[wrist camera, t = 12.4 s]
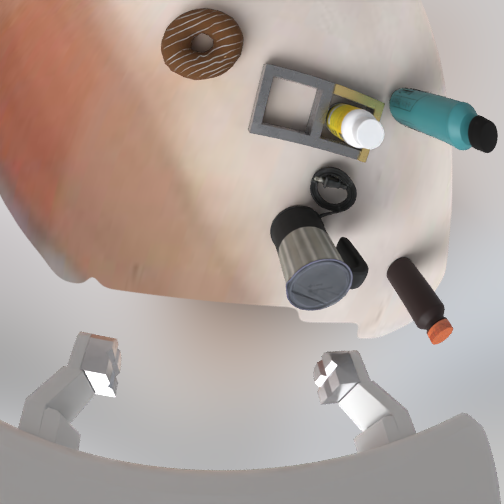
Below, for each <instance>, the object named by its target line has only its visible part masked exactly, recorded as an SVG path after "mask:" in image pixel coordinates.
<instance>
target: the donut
mask: <svg viewBox="0 0 504 504" xmlns="http://www.w3.org/2000/svg"><path fill="white" fill-rule="evenodd" d="M201 33H204V34H206V35H209V36H210V37H211V38H212V39H213V47H212V48H211V49H210V50H208V51H206V52H204V53H202V52H200V53H199V52H198V51H194V50H192V49H191V45H192V43H191V41H192V39H193V37H195V36H198V35H199V34H201ZM242 46H243V35H242V32H241V30H240V28H239V26H238V24H237V23H236V21H235V20H234V19H233V18H232V17H230V16H229V15H227V14H225V13H223V12H221V11H218V10H212V9H206V8H204V9H196V10H191V11H189V12H186V13H184V14H182V15H180V16H179V17H177V18H176V19H175V20H174V21H173V22H172V23H171V24H170V25H169V26H168V27H167V29H166V31H165V33H164V36H163V39H162V43H161V51H162V55H163V58H164V62H165V64H166V65H167V66H168V67H169V68H170V70H171V71H173V72H175V73H177V74H179V75H181V76H183V77H186V78H190V79H193V80H202V79H208V78H213V77H217V76H219V75H222V74H223V73H225V72H226V71H228V70H229V69H230V68H231V67H232V66H233V65H234V63H235V62H236V61H237V59H238V58H239V57H240V55H241V51H242Z"/></svg>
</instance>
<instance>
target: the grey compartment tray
mask: <svg viewBox="0 0 504 504" xmlns="http://www.w3.org/2000/svg"><path fill="white" fill-rule="evenodd" d="M273 77H276V78H280V79H284V80H288V81H291V82H295V83H299V84H302V85H306V86H309V87H312V88H316V89H317V92H316V95H315V99H314V103H313V106H312V110H311V113H310V117H309V120H308V124H307V127H306V131H305V132H302V131H298V130H294V129H290V128H286V127H282V126H277V125H273V124H268V123H264V122H262V120H263V116H264V112H265V107H266V103H267V99H268V96H269V92H270V88H271V84H272V80H273ZM333 94H334V95H337V96H340V97H342V98H345V99H348V100H350V101H353V102H356V103H358V104H361V105H363V106H366V107H367V108H366V111H368V112H370V113H371V114H372V115H373V116H374V117H375V118H376V120H377V121H380V118H381V114H382V111H383V108H384V105H385V104H384V103H382V102H380V101H378V100H376V99H373V98H371V97H369V96H366V95H364V94H361V93H359V92H357V91H354V90H351V89H349V88H346V87H344V86H341V85H338V84H335V83H332V82H329V81H326V80H323V79H320V78H317V77H314V76H311V75H307V74H304V73H301V72H297V71H294V70H290V69H286V68H283V67H279V66H275V65H270V64H264V66H263V70H262V74H261V78H260V82H259V86H258V90H257V94H256V98H255V102H254V106H253V111H252V115H251V119H250V123H249V128H248V130H249V132H250V133H253V134H258V135H263V136H268V137H273V138H277V139H282V140H286V141H291V142H295V143H299V144H303V145H307V146H311V147H315V148H319V149H322V150H326V151H330V152H333V153H337V154H340V155H343V156H347V157H350V158H353V159H357V160H359V161H362V162H366V159H367V156H368V154H369V151H370V149H366V148H356V147H353V146H350V145H347V144H344V143H341V142H338V141H334V140H331V139H328V138H324V137H321V132H322V129H323V126H324V122H325V119H326V116H327V112H328V109H329V105H330V102H331V98H332V95H333Z"/></svg>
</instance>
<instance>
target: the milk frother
mask: <svg viewBox="0 0 504 504" xmlns="http://www.w3.org/2000/svg"><path fill="white" fill-rule="evenodd" d="M331 175H332V176H331ZM334 176H335V177H334ZM336 177H337V178H336ZM318 182H322V183H323V187H324V188H325V187H326V186H327V187H335V188H343V189H346V190H347V193H348V195H347V198H346V199H345V200H344V201H343V202H341V203H338V204H331V203H329V202H327V201H325V200H324V199H323V198H322V197H321V196H320V194H319V193H318V190H317V183H318ZM310 191H311V195H312V197H313V199H314V200H315V202H316V203H317V204H318V205H319V206H321V207H322V208H324V209H327V210H331V211H332V212H328V213H323V214H320V215H319V214H318V213H317V212H316V211H314V210H313V209H311V208H309V207H305V206H294V207H290V208H288V209H285V210H284V211H282V212H281V213H279V214H278V215H277V217H276V218H275V219H274V221H273V223H272V225H271V231H270V234H271V238H272V241H273V243H274V244H275V246H276V249H277V252H278V256H279V259H280V263H281V267H282V271H283V275H284V278H285V282H286V293H287V298H288V300H289V302H290V303H291V304H292V305H293V306H295V307H297V308H299V309H303V310H321V309H323V308H327V307H329V306H331V305H333V304H335V303H337V302H338V301H339V300H341V299H342V298H343V297H344V296H345V295H346V294H347V292H348V291H349V289H355V288H358V287H359V286H360V285H361V284H362V283H363V282H364V280H365V278H366V276H367V273H368V266H367V264H366V262H365V261H364V260H363V258H362V257H361V255H360V254H359V253H358V251H357V250H356V249H355V247H354V246H353V245H352V243H351V242H350V241H349V240H348V239H347V238H345V237H341V238H340V240H339V242H338V244H337V246H336V247H335V246H334V244H333V242H332V241H331V239H330V237H329V235H328V234H327V232H326V230H325V228H324V224H323V222H322V220H321V218H322V217H324V216H327V215H331V214H335V213H339V212H342V211H345V210H347V209H349V208H350V207H351V206H352V205H353V204H354V202H355V200H356V195H357V192H356V188H355V185H354V183H353V182H352V180H351V179H350V177H349V176H348V175H347V174H346V173H345V172H343V171H342V170H340V169H337V168H334V167H325V168H322V169H320V170H318V171H317V172H316V173H315V174H314V176H313V178H312V180H311V186H310Z"/></svg>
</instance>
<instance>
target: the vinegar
mask: <svg viewBox="0 0 504 504" xmlns="http://www.w3.org/2000/svg"><path fill="white" fill-rule="evenodd" d="M387 278H388V280H389V281H390V283H391V284H392V286H393V288H394V289H395V291H396V292H397V294H398V295H399V297H400V299H401V300H402V302H403V303H404V305H405V307H406V308H407V310H408V312H409V313H410V315H411V317H412V318H413V320H414V321H415V323H416V325H417V327H418V328H420V329H426V330H427V334H428V337H429V338H430V340H431V342H432V344H438V343H441V342H442V341H444V340H445V339H446V338H447V337H448V336H449V335H450V334H451V333H452V330H453V327H452V326H451V324H450V323H449V321H448V320H447V318H445V317H444V316H443V314H444V310H445V309H444V305H443V303H442V302H441V301H440V299H439V298H438V296H437V295H436V294H435V292H434V291H433V289H432V288H431V287H430V285H429V284H428V282H427V281H426V280H425V278H424V277H423V276H422V274H421V273H420V272H419V271H418V269H417V268H416V267H415V265H414V264H413V263H412V262H411V260H410V259H408V258H400V259H398V260H396V261H395V262H393V263H392V265H391V266H390V267H389V269H388V271H387Z"/></svg>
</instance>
